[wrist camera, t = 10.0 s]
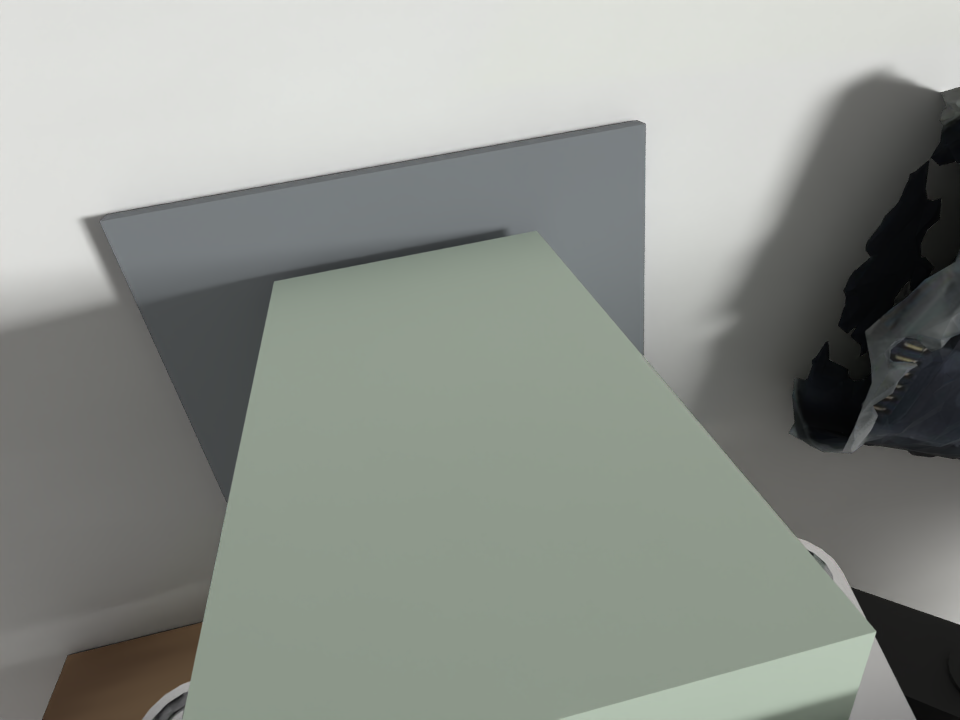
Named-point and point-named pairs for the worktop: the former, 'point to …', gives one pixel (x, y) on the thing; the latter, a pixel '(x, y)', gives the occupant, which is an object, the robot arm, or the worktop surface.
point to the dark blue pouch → (895, 336)
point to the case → (124, 676)
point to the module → (498, 520)
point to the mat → (370, 249)
